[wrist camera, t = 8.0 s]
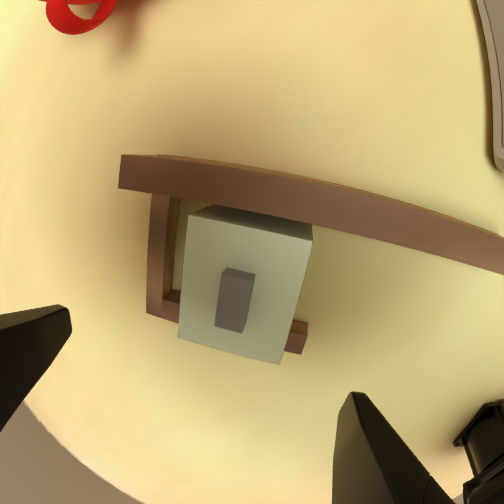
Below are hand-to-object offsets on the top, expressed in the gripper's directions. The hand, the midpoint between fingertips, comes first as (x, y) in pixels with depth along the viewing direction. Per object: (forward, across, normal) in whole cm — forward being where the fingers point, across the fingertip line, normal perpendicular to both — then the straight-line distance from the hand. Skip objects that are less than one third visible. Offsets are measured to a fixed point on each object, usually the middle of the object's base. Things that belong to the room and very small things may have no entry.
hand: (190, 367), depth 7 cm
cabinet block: (+11, 0, 0) cm, 11 cm away
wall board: (+11, -5, 0) cm, 12 cm away
